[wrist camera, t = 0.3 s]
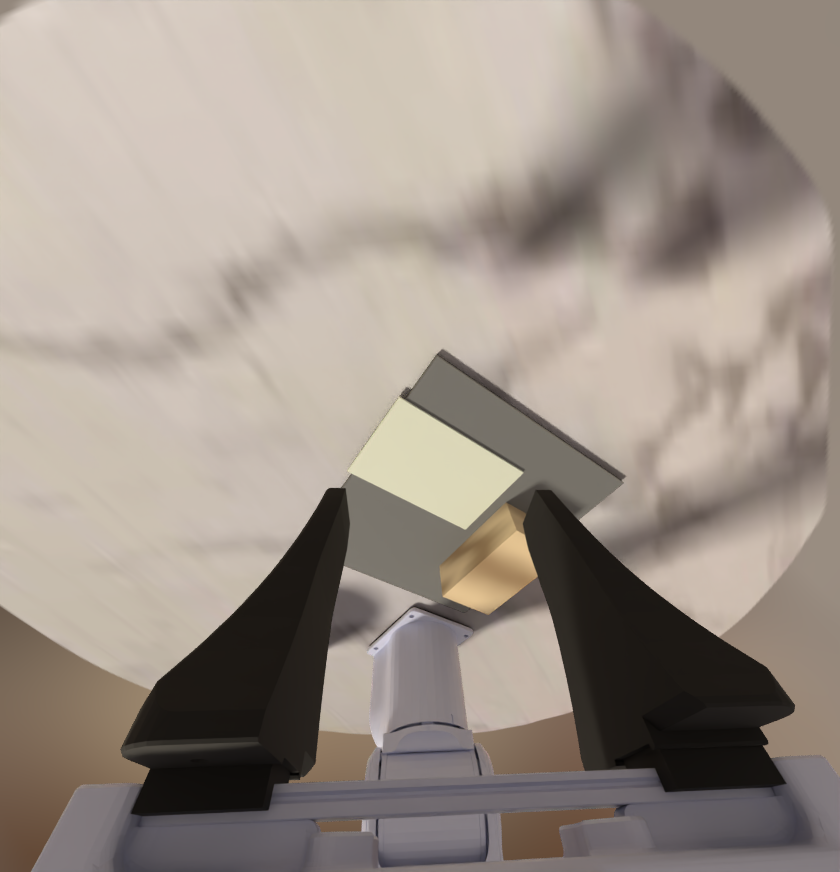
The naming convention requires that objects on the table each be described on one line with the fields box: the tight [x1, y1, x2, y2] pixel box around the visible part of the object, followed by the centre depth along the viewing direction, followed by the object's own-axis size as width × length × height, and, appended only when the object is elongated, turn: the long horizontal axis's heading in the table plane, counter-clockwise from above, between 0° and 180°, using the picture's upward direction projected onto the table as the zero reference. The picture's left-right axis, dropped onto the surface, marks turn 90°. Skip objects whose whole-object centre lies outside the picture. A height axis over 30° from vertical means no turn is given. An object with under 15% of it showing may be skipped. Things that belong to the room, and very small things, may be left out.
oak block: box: [439, 503, 538, 615], centre depth 28 cm, size 9×5×3 cm, turn 145°
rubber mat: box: [342, 355, 623, 613], centre depth 27 cm, size 20×18×1 cm
